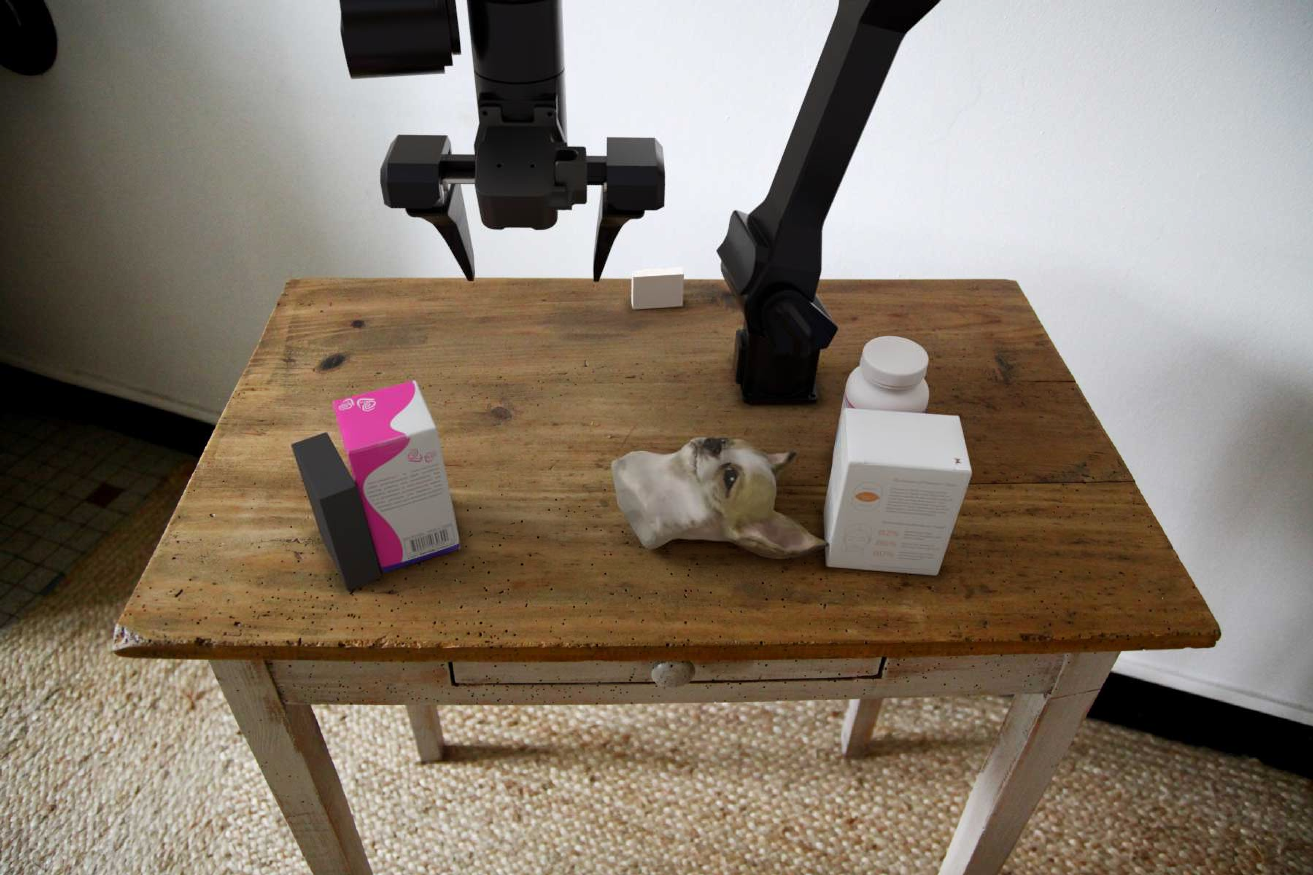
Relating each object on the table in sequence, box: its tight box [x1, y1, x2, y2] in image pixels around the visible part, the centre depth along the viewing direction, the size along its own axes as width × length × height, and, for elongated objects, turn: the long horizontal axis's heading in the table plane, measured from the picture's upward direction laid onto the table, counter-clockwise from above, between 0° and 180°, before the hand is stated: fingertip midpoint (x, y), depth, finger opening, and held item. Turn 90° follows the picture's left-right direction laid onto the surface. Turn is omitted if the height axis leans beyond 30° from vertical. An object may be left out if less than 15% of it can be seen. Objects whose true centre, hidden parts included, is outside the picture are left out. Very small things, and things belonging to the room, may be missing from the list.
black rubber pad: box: [290, 431, 382, 592], centre depth 62 cm, size 2×6×9 cm, turn 32°
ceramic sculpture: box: [610, 436, 829, 560], centre depth 66 cm, size 11×9×15 cm
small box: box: [823, 408, 973, 576], centre depth 64 cm, size 8×6×10 cm
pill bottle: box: [832, 335, 930, 460], centre depth 70 cm, size 6×6×11 cm
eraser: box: [631, 266, 685, 310], centre depth 89 cm, size 1×5×4 cm, turn 99°
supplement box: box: [332, 380, 461, 573], centre depth 63 cm, size 6×6×12 cm
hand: (534, 279), depth 69 cm, fingers open, 9 cm apart
